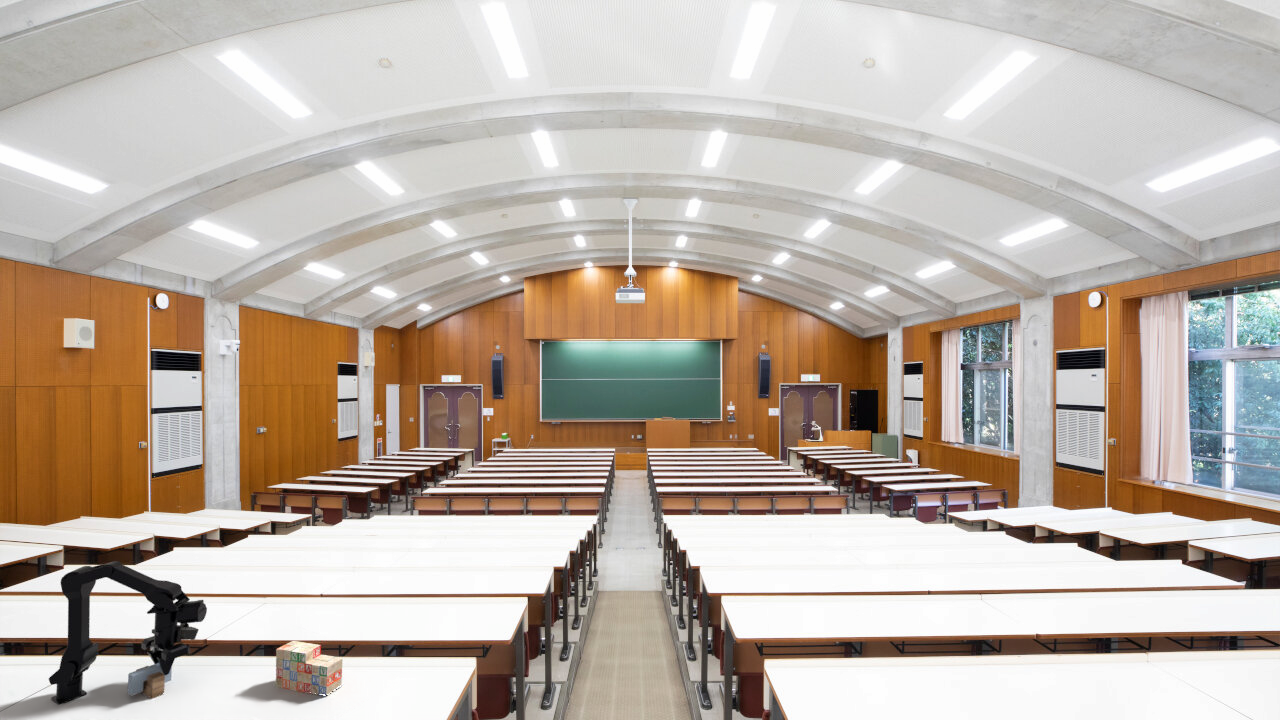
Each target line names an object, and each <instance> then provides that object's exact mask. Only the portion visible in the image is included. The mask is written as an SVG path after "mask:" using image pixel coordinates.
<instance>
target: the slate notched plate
mask: <svg viewBox="0 0 1280 720" xmlns="http://www.w3.org/2000/svg"><path fill="white" fill-rule="evenodd" d="M147 666H148V667H145V666H144V667H145V668H143V667H142V668H143V669H140V668H139V669H140V670H137V669H136V670H137V671H136V670H134V671H132V672H129V673H128V674H127V676H128V678H127V679H128V682H127V694H128V695H130V696H134V695H137V694H140V693H142V691H143V682H144V681H146V680H147V677H148V676H149V675H152V674H155V673H157V672H161V673H163V671H162V669H161V666H160V664H159V663H157V664H151V665H147ZM172 669H173V666H172V667H171V669H170V672H169V674H167V675H165V680H164V684H165V683H168V682H171V681H172ZM163 674H164V673H163Z"/></svg>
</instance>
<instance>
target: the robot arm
mask: <svg viewBox="0 0 1280 720" xmlns="http://www.w3.org/2000/svg"><path fill="white" fill-rule="evenodd" d="M105 578H108V579H109V580H111V581H113V582H116V583H118V584H120V585H123V586H125V587H127V588H129V589H132V590H134V591H136V592H139V593H141V594H142V595H144V597H145V598H146V600H147V601H148V602H150V603H151V604H152V605H153V606H152V607H151V608H150V609H149V610H148V611H147V612H146V614H148V615H150V614H154V628H153V629H151V634H153V635H152V636H149V637H147V638H144V640H142V642H141V647H140V649H142V650H144V651H146V650H148V648H149V649H150V650H148V651H147V652H146V653H147V654H148V655H149V657H150V659H151V661H152V662H153V663H154V664H157V663H159V664H160V666H161V669H162V671H163V673H164V675H167V674H169V672H170V669H171V667H172V668H173V664H174V661H175V659H177V658H180V657H182V656H185V655H189V654H190V646H189V645H187V644H185V643H182V641H183V640H184V641H185V640H191V641H192V640H193V641H195V640H196V638H197V634H198V633H199V630H200V629H199V628H196V627H193V626H190V624H191V623H193V624H194V623H201V622H203V621H204V620H205V618H206V616H207V610H208V607H207V605H206V603H204V599H197V600H191V601H190V598H189V597H188V596H187V594H185V592H184V591H183V590H182V586H181V585H180V584H179V583H176V582H172V581H169V580H158V579H155V578H153V577H150V576H148V575H147V574H144V573H142V572H139V571H137V570H135V569H133V568H130V567H128V566H127V565H124V564H122V562H120V561H118V560H117V561H116V560H115V561H111V562H107V563H104V564H98V565H95V566H91V565H84V566H81V567H79V568H76V569H74V570H72V571H69V572H67V573H66V574H64V575H63V576H62V577H61V579H60V588H61V592H62V594H63V595H64V596H65V598H67V601H68V602H67V605H68V606H67V646H66V648H65V650H64V652H63V654H62V656H61V658H60V664H59V669H58V670H56V671H55V672H54V673H53V674H52V675H51V676H49V678H48V681H49V683H50V686H51V685H56V689H55V690H56V692H55V693H56V694H55V695H54V696H51V697H50V699H51V701H53V702H54V703H56V704H57V705H60V704H64V703H67V702H69V701H72V700H75V699H77V698H80V697H83V696H86V695H88V694H87V691H86V690H84V688H83V679H84V678H83V676H84V672H86V671H88V670H89V669H90V667H91V665H93V663H94V662H95V661H96V659H97V657H99V655H100V653H99V650H98V649H99V643H98V642H95V643H93V642H92V641H91V639H90V620H91V619H90V614H91V613H90V612H91V611H90V610H91V609H90V606H91V605H90V599H91V597H90V596H91V593H92V591H93V589H94V587H95V586H96V582H97V580H101V579H105ZM154 664H153V665H154Z"/></svg>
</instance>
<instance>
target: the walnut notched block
mask: <svg viewBox="0 0 1280 720" xmlns="http://www.w3.org/2000/svg"><path fill="white" fill-rule="evenodd" d="M148 666H149V665H146V666H143V667H140V668H137V669H135V671H137V670H140V669H143V668H145V667H148ZM164 680H165V675H164V674H163V673H161V672H157V673H155V674H152V675H149V676H148V677H147V680H146V681H144V682H143V691H142V692H141V694H143V695H145V696H147V697H148V696H149V697H148V698H150V699H155V698H158V697H160V696H162V695H161V694H163V693H164V694H165V683H164ZM164 694H163V695H164ZM159 695H160V696H159ZM157 696H158V697H157Z"/></svg>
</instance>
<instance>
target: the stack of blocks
mask: <svg viewBox="0 0 1280 720" xmlns="http://www.w3.org/2000/svg"><path fill="white" fill-rule="evenodd" d="M275 651H276V655H275V656H276V658H275V672H276V673H275V676H276V677H275V686H276V687H277V686H278V688H282V689H285V690H291V691H295V692H301V693H306V692H311V693H316V694H325V695H327V694H329V693H330V692H332V691H333V690H334V689H336V688H337V687H338V686H340V685H341V684H342V682H343V681H342V680H343V679H342V677H343V658H342V657H338V656H333V655H326V654H322V645H321V644H317V643H316V644H315V643H311V642H310V643H309V642H304V641H298V640H292V641H290V642H288V643H286V644H283V645H281V646H280V647H278V648H276V650H275ZM341 686H342V685H341ZM311 693H310V694H311Z"/></svg>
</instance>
